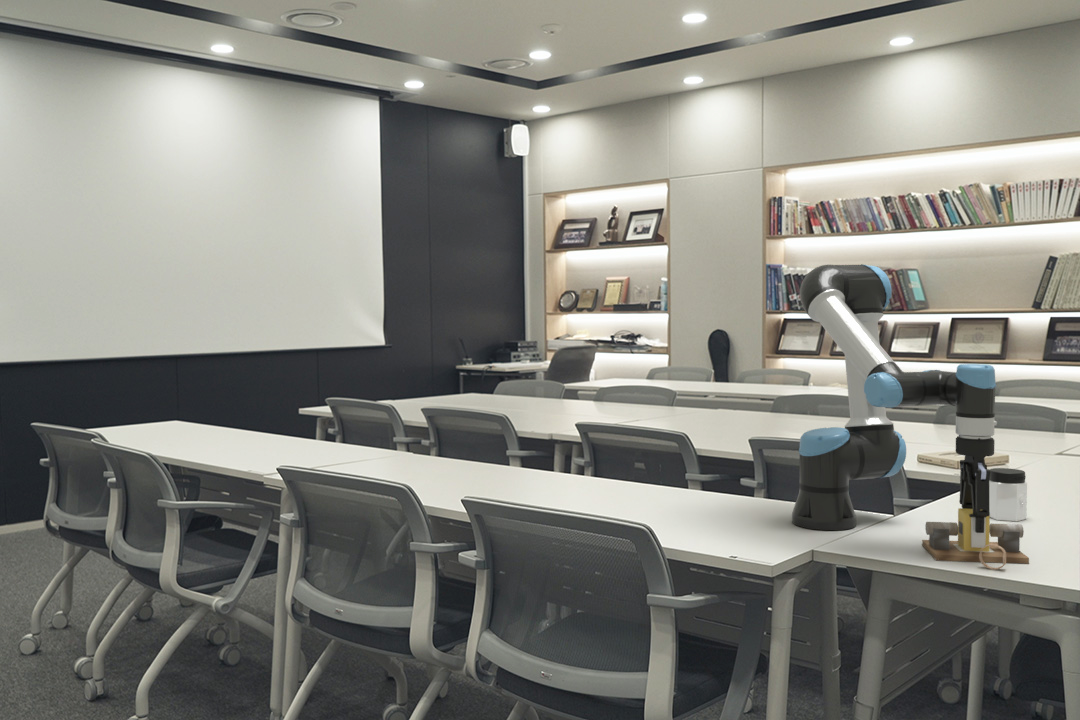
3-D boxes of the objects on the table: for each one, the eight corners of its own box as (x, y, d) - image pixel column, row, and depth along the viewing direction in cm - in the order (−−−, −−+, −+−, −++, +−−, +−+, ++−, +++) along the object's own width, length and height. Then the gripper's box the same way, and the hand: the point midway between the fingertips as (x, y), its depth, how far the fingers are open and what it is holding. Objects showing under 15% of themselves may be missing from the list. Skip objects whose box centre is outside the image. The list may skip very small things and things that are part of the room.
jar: (1012, 523, 227) (1013, 474, 226) (981, 517, 233) (981, 470, 233) (1032, 518, 231) (1033, 471, 231) (1000, 512, 238) (1001, 466, 238)
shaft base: (934, 560, 194) (934, 528, 193) (919, 545, 206) (920, 515, 206) (1031, 563, 190) (1032, 531, 190) (1010, 547, 203) (1011, 517, 203)
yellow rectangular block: (963, 550, 196) (963, 513, 196) (957, 544, 201) (957, 508, 201) (989, 551, 195) (990, 514, 195) (983, 545, 200) (983, 509, 200)
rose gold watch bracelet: (1004, 572, 185) (1004, 547, 184) (978, 568, 187) (978, 544, 187) (1006, 568, 187) (1006, 544, 187) (980, 565, 189) (980, 541, 189)
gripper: (1008, 442, 187) (1006, 555, 188) (980, 430, 206) (979, 533, 207) (968, 442, 188) (967, 554, 190) (945, 430, 207) (943, 532, 208)
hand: (973, 543), depth 198 cm, fingers open, 6 cm apart
